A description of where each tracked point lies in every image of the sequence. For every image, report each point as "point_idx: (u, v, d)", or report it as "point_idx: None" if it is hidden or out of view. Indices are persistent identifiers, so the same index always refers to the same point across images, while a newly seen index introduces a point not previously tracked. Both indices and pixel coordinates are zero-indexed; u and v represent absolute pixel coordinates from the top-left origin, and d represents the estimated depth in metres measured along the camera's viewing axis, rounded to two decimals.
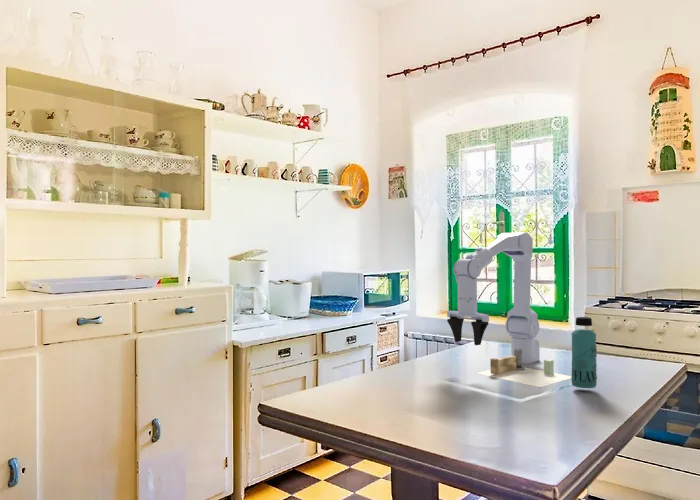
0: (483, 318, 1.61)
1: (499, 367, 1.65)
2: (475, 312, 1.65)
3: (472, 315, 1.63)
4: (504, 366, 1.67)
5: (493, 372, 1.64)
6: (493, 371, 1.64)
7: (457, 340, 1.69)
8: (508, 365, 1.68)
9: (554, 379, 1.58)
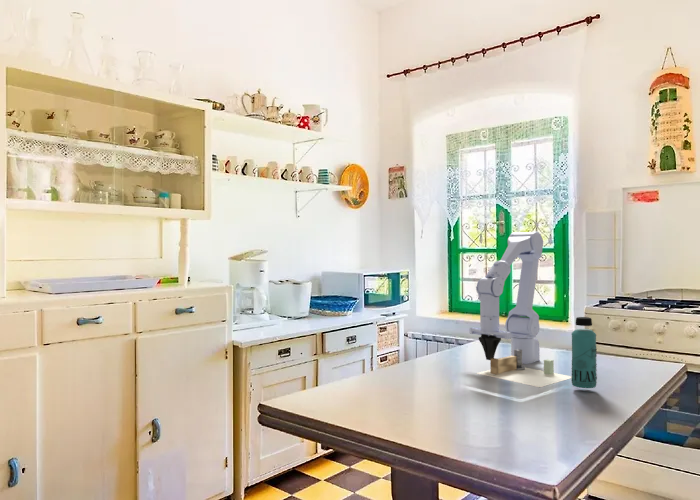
0: (506, 336, 1.66)
1: (499, 367, 1.65)
2: (497, 329, 1.70)
3: (495, 333, 1.68)
4: (504, 366, 1.67)
5: (493, 372, 1.64)
6: (493, 371, 1.64)
7: None
8: (508, 365, 1.68)
9: (554, 379, 1.58)
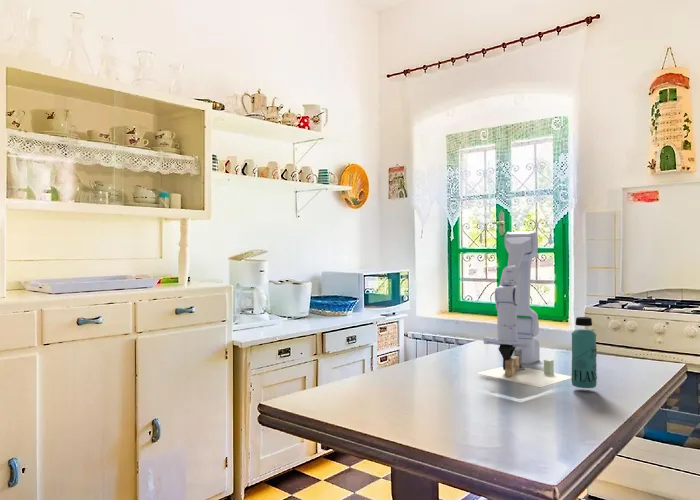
0: (528, 345, 1.62)
1: (512, 369, 1.63)
2: (516, 339, 1.66)
3: (516, 342, 1.63)
4: (514, 367, 1.65)
5: (508, 374, 1.61)
6: (508, 373, 1.61)
7: None
8: (515, 366, 1.67)
9: (554, 379, 1.58)
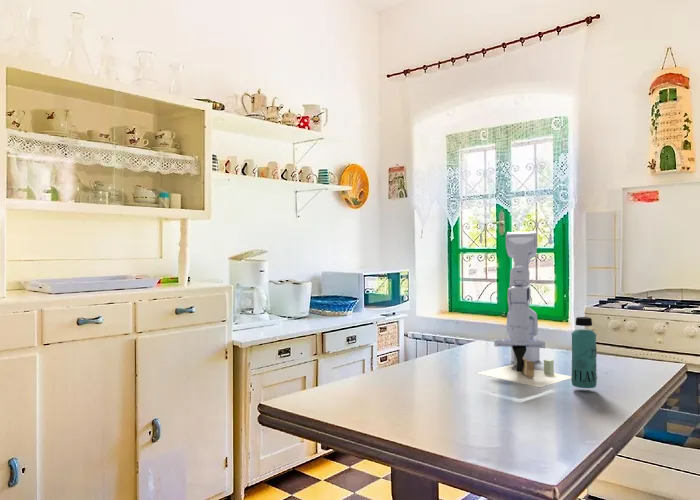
0: (543, 345, 1.63)
1: None
2: None
3: (532, 343, 1.63)
4: None
5: (532, 375, 1.60)
6: (532, 374, 1.60)
7: (521, 370, 1.65)
8: None
9: (554, 379, 1.58)
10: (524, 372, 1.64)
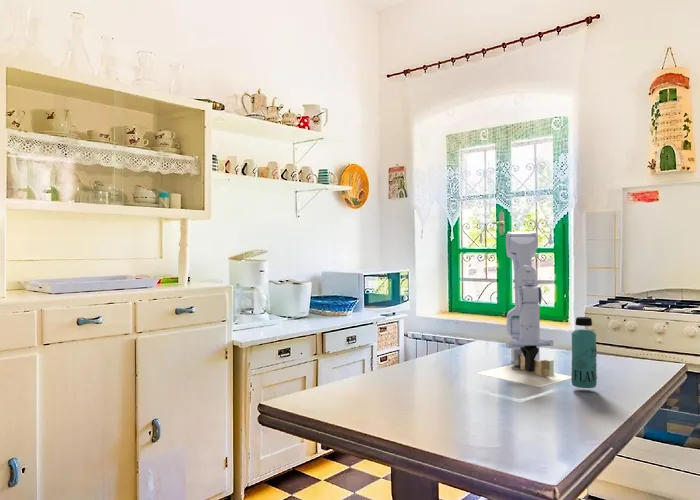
0: (552, 343, 1.65)
1: None
2: None
3: (543, 342, 1.64)
4: None
5: (548, 374, 1.61)
6: (548, 373, 1.61)
7: None
8: None
9: (554, 379, 1.58)
10: (535, 372, 1.64)
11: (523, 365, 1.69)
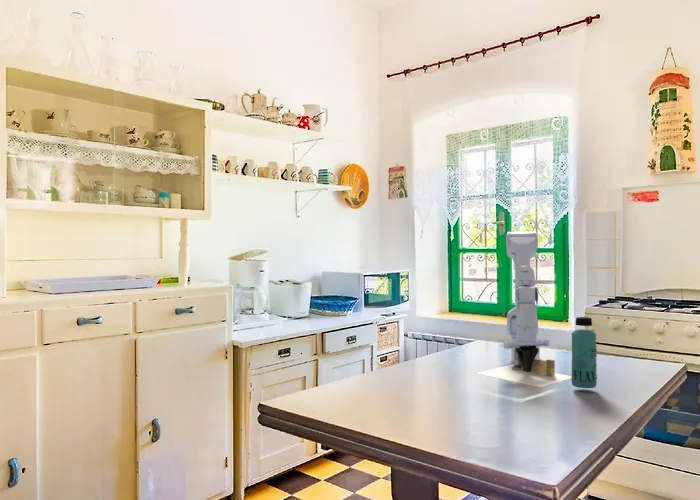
0: (548, 343, 1.65)
1: None
2: None
3: (540, 342, 1.64)
4: None
5: (553, 373, 1.62)
6: (553, 372, 1.62)
7: None
8: None
9: (554, 379, 1.58)
10: (540, 371, 1.65)
11: None
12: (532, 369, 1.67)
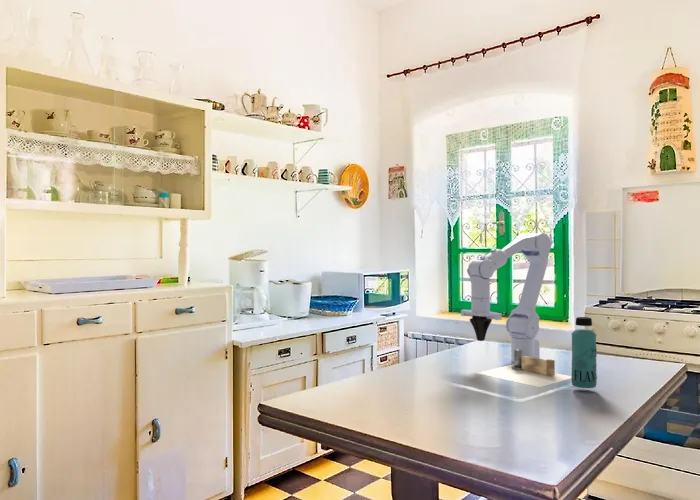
0: (496, 317, 1.69)
1: None
2: (488, 311, 1.73)
3: (485, 314, 1.71)
4: None
5: (553, 373, 1.62)
6: (553, 372, 1.62)
7: None
8: None
9: (554, 379, 1.58)
10: (540, 371, 1.65)
11: (525, 365, 1.69)
12: (532, 369, 1.67)
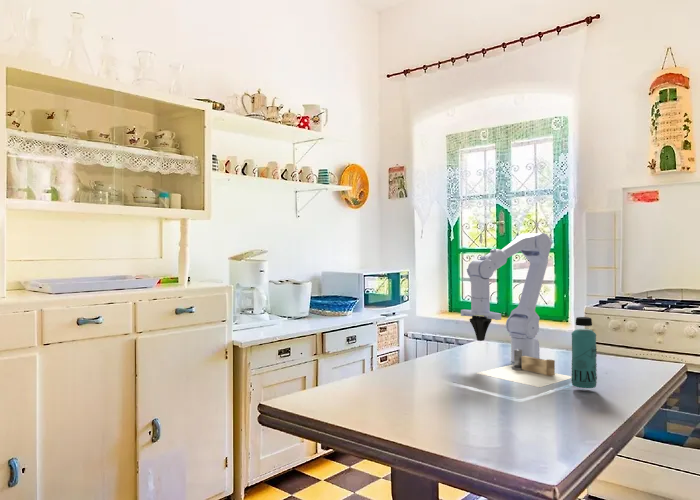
0: (496, 317, 1.69)
1: None
2: (488, 311, 1.73)
3: (485, 314, 1.71)
4: None
5: (553, 373, 1.62)
6: (553, 372, 1.62)
7: None
8: None
9: (554, 379, 1.58)
10: (540, 371, 1.65)
11: (525, 365, 1.69)
12: (532, 369, 1.67)
